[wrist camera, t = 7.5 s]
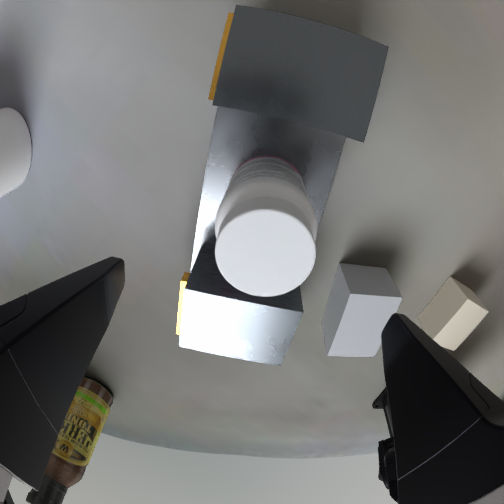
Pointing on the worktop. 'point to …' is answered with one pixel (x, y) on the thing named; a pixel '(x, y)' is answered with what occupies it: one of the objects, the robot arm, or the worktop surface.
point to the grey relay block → (358, 310)
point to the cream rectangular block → (452, 314)
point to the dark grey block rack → (272, 144)
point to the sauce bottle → (74, 442)
